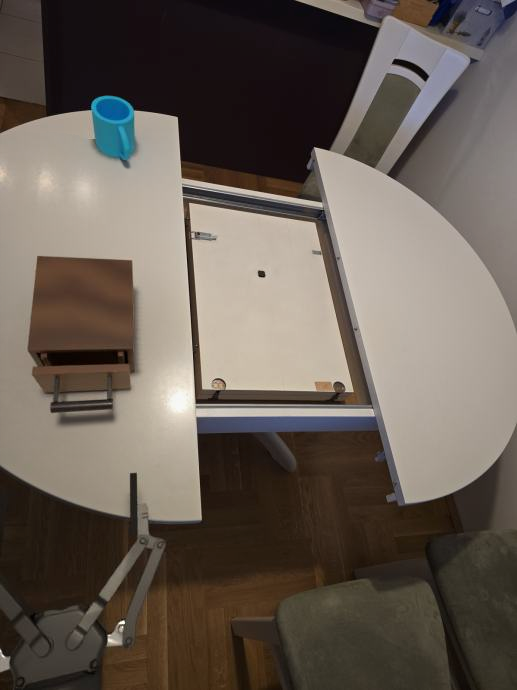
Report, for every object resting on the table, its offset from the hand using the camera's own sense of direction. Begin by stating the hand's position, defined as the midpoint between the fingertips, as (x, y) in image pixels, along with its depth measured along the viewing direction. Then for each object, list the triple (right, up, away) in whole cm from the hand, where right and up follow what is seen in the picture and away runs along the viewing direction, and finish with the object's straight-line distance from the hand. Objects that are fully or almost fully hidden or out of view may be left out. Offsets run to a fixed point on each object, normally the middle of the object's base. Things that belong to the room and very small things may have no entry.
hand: (69, 480), depth 44 cm
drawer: (-6, +12, +20) cm, 24 cm away
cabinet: (-7, +18, +23) cm, 30 cm away
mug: (-10, +58, +42) cm, 72 cm away
